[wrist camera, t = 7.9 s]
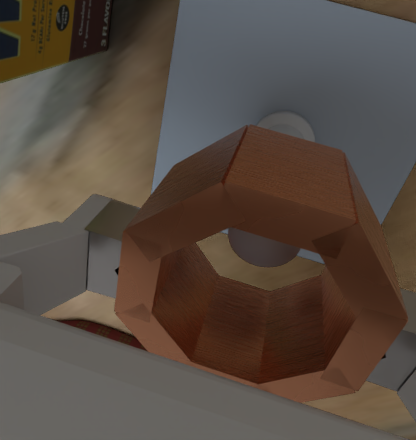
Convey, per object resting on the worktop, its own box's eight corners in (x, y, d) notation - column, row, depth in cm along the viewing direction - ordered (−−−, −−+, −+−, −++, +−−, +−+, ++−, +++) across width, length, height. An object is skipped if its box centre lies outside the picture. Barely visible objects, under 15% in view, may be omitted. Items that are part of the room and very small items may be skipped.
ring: (413, 170, 10) (459, 250, 7) (324, 330, 13) (328, 432, 10) (182, 105, 10) (131, 154, 7) (153, 276, 13) (109, 357, 10)
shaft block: (469, 36, 16) (640, 87, 8) (352, 257, 23) (376, 415, 14) (194, -34, 17) (82, -56, 9) (157, 198, 24) (72, 313, 15)
